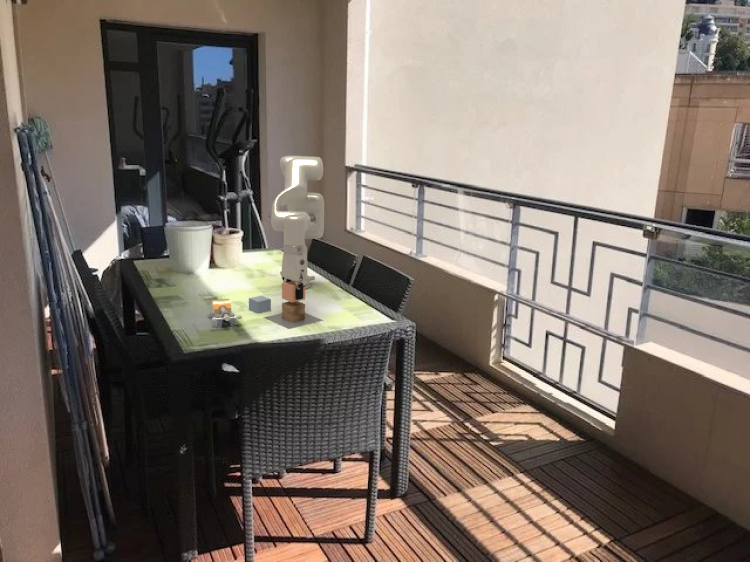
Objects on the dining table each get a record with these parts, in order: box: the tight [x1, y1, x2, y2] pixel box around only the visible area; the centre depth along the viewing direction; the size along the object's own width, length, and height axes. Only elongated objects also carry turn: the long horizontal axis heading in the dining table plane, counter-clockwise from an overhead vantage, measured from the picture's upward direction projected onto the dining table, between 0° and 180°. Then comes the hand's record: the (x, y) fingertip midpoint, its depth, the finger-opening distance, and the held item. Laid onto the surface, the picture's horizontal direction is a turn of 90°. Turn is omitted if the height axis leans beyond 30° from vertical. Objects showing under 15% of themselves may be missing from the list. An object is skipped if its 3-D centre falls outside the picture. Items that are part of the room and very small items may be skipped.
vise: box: [207, 298, 243, 329], centre depth 227 cm, size 18×10×7 cm, turn 22°
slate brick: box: [248, 295, 272, 314], centre depth 239 cm, size 6×6×6 cm
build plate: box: [263, 312, 324, 330], centre depth 231 cm, size 16×16×1 cm
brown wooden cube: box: [281, 301, 306, 322], centre depth 230 cm, size 6×6×6 cm
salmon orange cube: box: [281, 281, 306, 302], centre depth 228 cm, size 6×6×6 cm
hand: (293, 296), depth 229 cm, fingers closed on salmon orange cube, 6 cm apart
